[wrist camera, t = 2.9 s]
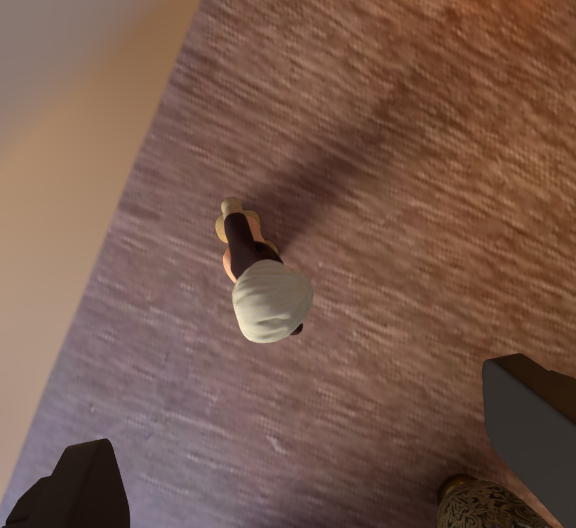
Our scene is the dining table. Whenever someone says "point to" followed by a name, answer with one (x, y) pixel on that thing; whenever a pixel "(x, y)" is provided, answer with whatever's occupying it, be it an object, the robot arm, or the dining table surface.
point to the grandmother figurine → (261, 278)
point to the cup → (482, 506)
